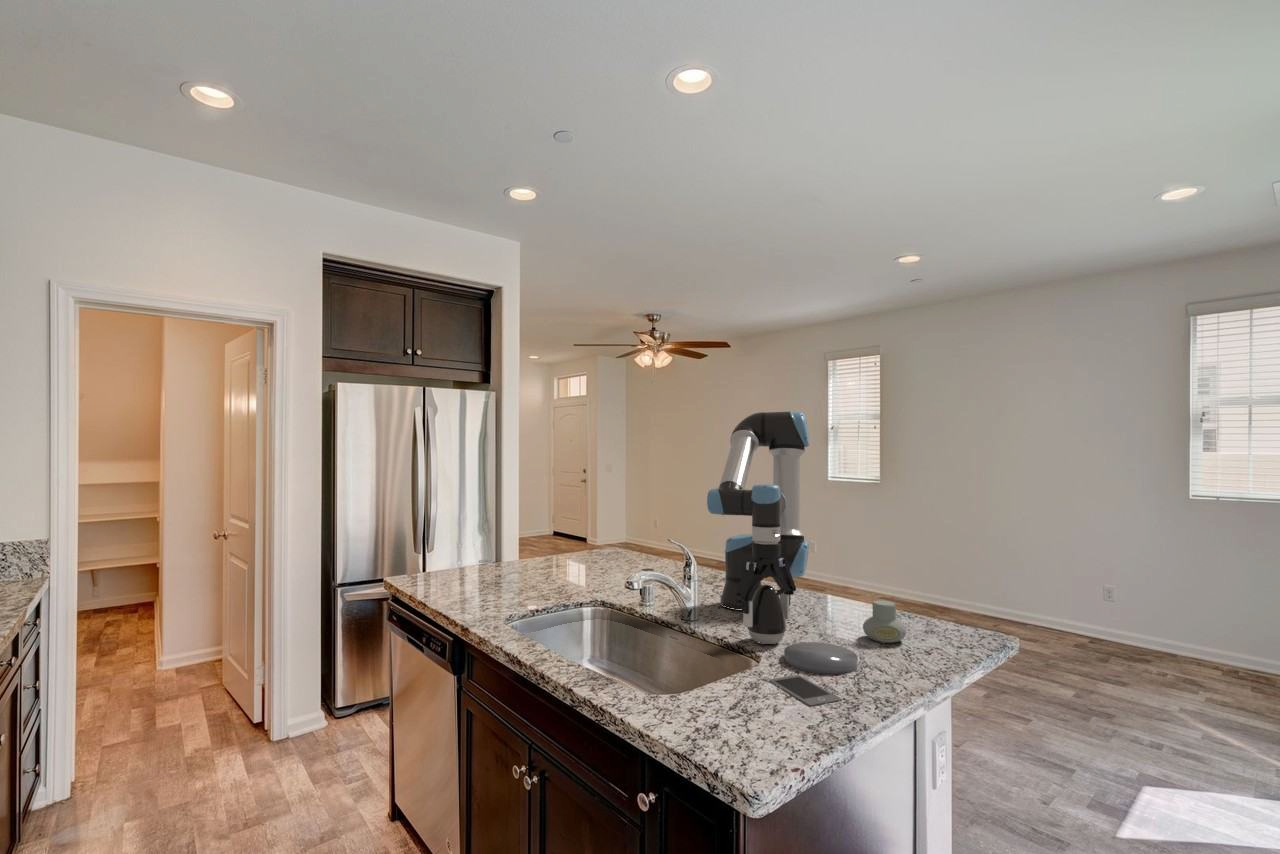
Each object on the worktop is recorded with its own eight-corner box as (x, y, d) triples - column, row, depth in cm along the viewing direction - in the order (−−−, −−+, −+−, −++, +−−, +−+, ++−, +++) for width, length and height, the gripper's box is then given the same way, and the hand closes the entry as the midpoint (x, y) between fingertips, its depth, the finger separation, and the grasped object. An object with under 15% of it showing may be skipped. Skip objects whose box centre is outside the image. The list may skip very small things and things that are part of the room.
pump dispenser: (790, 648, 158) (790, 589, 159) (750, 648, 158) (750, 589, 159) (782, 636, 168) (782, 580, 169) (744, 636, 168) (744, 580, 169)
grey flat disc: (816, 646, 160) (816, 638, 160) (872, 665, 146) (872, 656, 146) (769, 658, 151) (769, 649, 151) (824, 679, 136) (824, 670, 136)
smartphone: (767, 682, 136) (767, 679, 136) (798, 677, 139) (798, 674, 139) (809, 708, 122) (809, 705, 122) (842, 702, 125) (842, 699, 125)
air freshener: (863, 642, 163) (863, 604, 163) (862, 634, 171) (861, 597, 171) (908, 646, 160) (907, 608, 160) (904, 637, 167) (904, 600, 168)
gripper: (741, 547, 154) (741, 632, 153) (808, 540, 168) (809, 618, 167) (721, 543, 161) (721, 625, 160) (788, 537, 174) (789, 612, 173)
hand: (766, 622), depth 163 cm, fingers open, 13 cm apart
